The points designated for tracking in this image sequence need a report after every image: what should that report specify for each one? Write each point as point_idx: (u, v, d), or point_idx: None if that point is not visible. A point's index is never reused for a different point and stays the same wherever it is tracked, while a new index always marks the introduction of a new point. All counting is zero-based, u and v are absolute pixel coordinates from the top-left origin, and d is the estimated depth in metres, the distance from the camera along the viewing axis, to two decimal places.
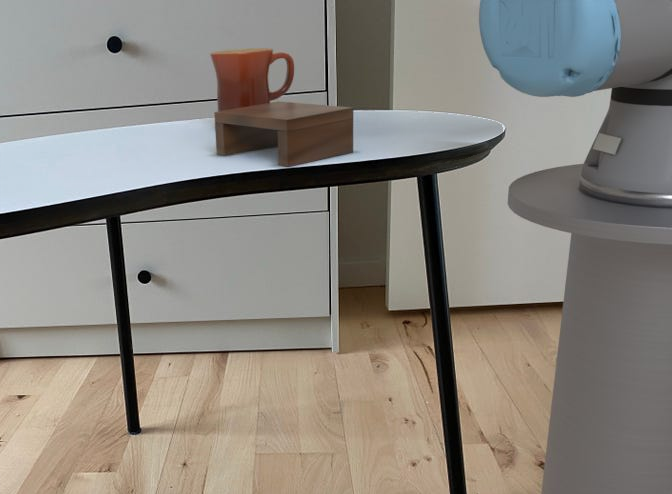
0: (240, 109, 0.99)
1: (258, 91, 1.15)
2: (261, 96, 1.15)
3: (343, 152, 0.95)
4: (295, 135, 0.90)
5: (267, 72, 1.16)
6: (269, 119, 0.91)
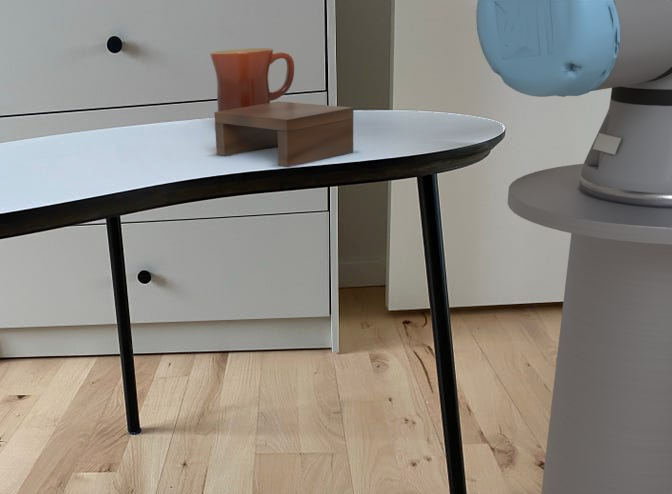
0: (240, 109, 0.99)
1: (258, 91, 1.15)
2: (261, 96, 1.15)
3: (343, 152, 0.95)
4: (295, 135, 0.90)
5: (267, 72, 1.16)
6: (269, 119, 0.91)
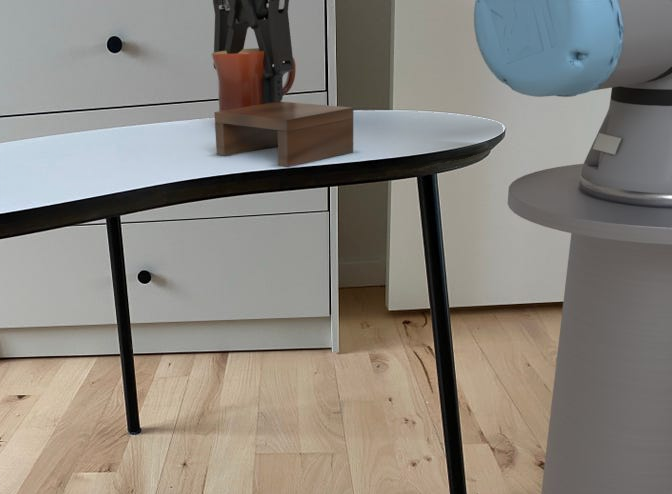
0: (240, 109, 0.99)
1: (260, 91, 1.15)
2: None
3: (343, 152, 0.95)
4: (295, 135, 0.90)
5: None
6: (269, 119, 0.91)
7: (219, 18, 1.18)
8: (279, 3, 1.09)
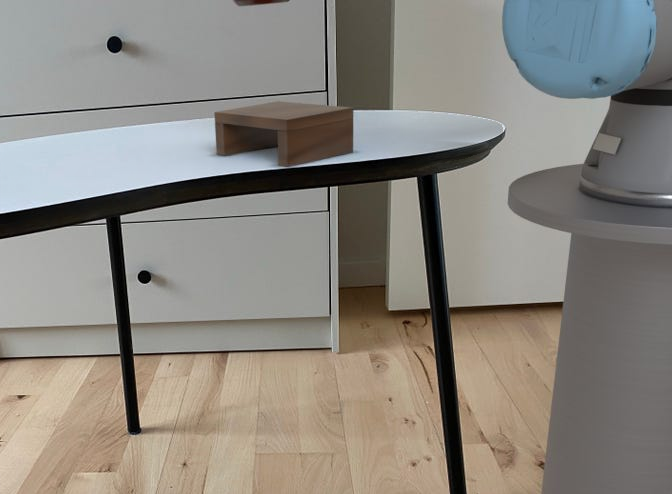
0: (240, 109, 0.99)
1: None
2: None
3: (343, 152, 0.95)
4: (295, 135, 0.90)
5: None
6: (269, 119, 0.91)
7: None
8: None
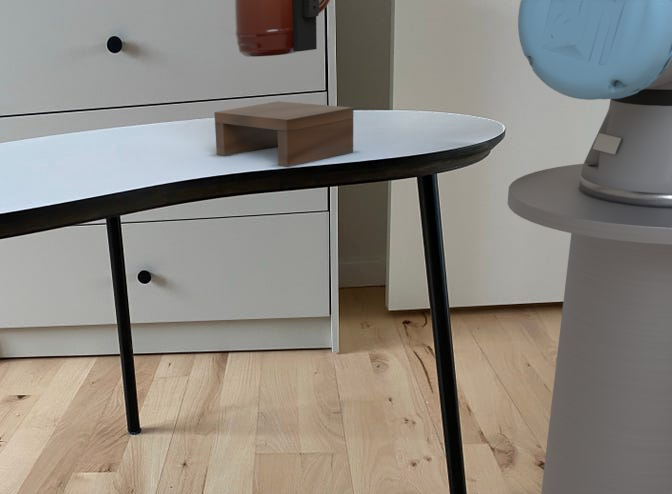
0: (240, 109, 0.99)
1: (289, 4, 0.88)
2: None
3: (343, 152, 0.95)
4: (295, 135, 0.90)
5: None
6: (269, 119, 0.91)
7: None
8: None
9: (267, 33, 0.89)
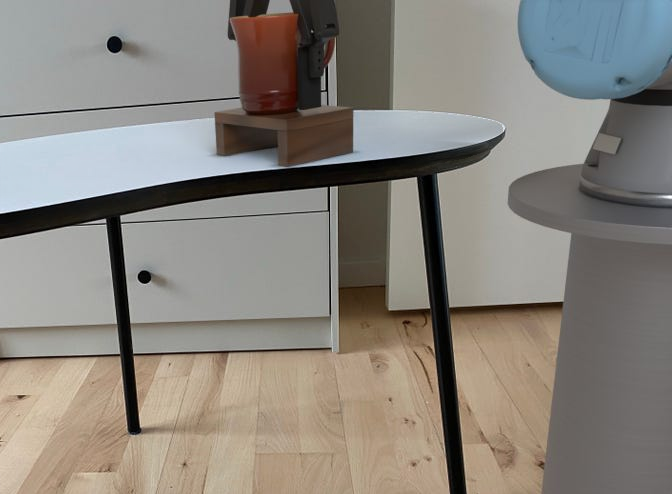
0: (240, 109, 0.99)
1: (291, 66, 0.91)
2: (295, 72, 0.91)
3: (343, 152, 0.95)
4: (295, 135, 0.90)
5: None
6: (269, 119, 0.91)
7: None
8: None
9: (269, 94, 0.91)
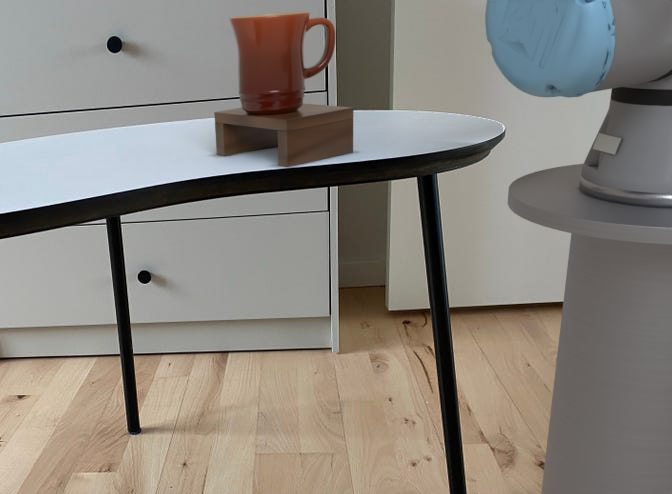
0: (240, 109, 0.99)
1: (291, 66, 0.91)
2: (295, 72, 0.91)
3: (343, 152, 0.95)
4: (295, 135, 0.90)
5: (302, 42, 0.91)
6: (269, 119, 0.91)
7: None
8: None
9: (269, 94, 0.91)
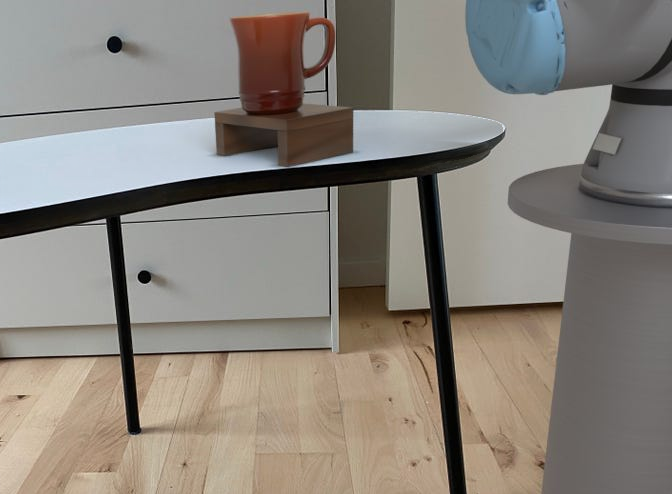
0: (240, 109, 0.99)
1: (291, 66, 0.91)
2: (295, 72, 0.91)
3: (343, 152, 0.95)
4: (295, 135, 0.90)
5: (302, 42, 0.91)
6: (269, 119, 0.91)
7: None
8: None
9: (269, 94, 0.91)
